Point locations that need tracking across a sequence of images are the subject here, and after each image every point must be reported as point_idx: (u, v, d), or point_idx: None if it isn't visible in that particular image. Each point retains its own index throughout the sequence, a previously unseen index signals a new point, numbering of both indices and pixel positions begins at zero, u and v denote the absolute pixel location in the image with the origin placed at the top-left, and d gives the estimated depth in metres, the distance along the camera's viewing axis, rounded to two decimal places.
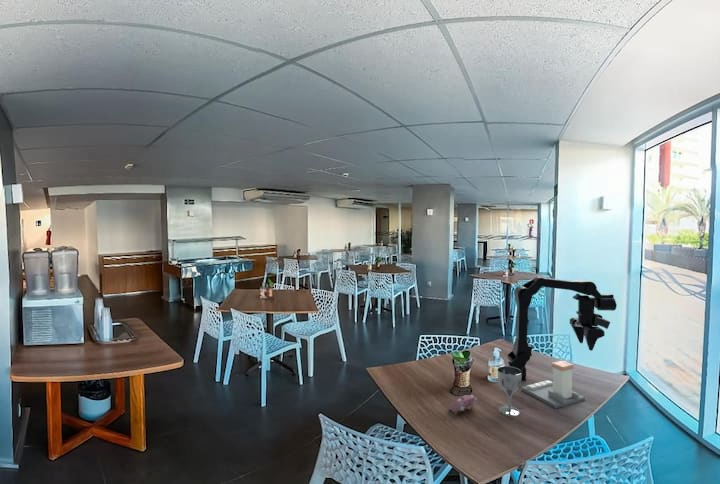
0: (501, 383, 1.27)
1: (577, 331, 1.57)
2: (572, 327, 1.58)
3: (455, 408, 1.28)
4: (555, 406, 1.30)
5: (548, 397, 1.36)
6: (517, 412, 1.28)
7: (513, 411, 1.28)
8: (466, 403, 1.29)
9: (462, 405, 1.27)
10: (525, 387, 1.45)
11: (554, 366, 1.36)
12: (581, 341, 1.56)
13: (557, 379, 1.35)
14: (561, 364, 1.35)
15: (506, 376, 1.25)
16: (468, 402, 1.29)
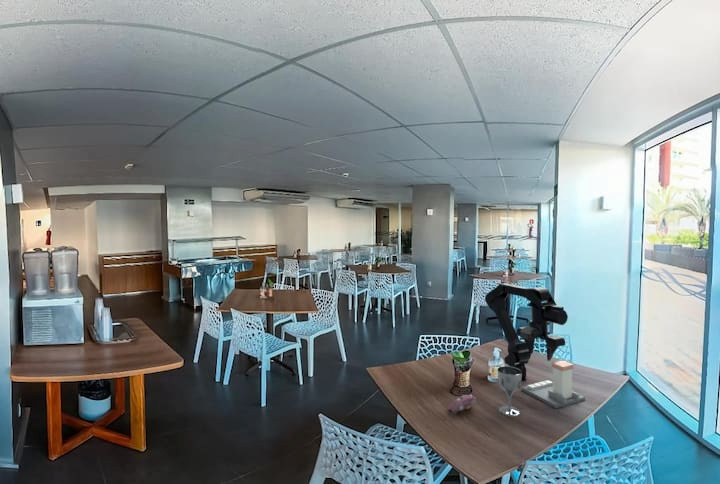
0: (501, 383, 1.27)
1: None
2: None
3: (454, 408, 1.28)
4: (555, 406, 1.30)
5: (548, 397, 1.36)
6: (517, 412, 1.28)
7: (513, 411, 1.28)
8: (465, 403, 1.29)
9: (461, 405, 1.27)
10: (525, 387, 1.45)
11: (554, 366, 1.36)
12: None
13: (557, 379, 1.35)
14: (561, 364, 1.35)
15: (506, 376, 1.25)
16: (467, 402, 1.29)
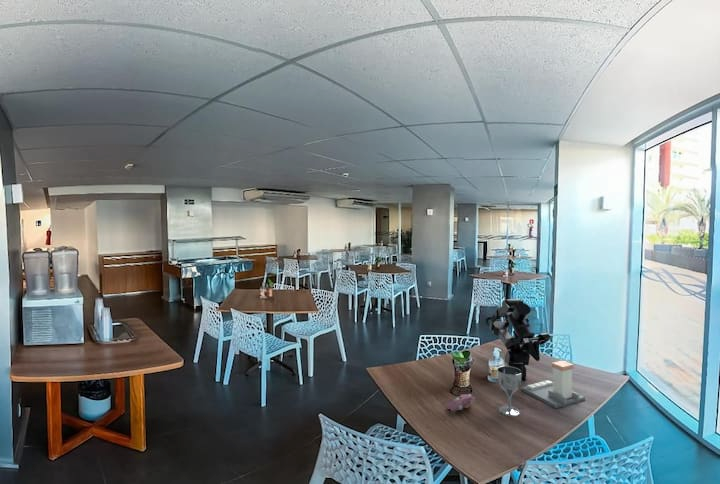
0: (501, 383, 1.27)
1: None
2: (529, 343, 1.45)
3: (453, 407, 1.28)
4: (555, 406, 1.30)
5: (548, 397, 1.36)
6: (517, 412, 1.28)
7: (513, 411, 1.28)
8: (464, 402, 1.29)
9: (460, 404, 1.28)
10: (525, 387, 1.45)
11: (554, 366, 1.36)
12: None
13: (557, 379, 1.35)
14: (561, 364, 1.35)
15: (506, 376, 1.25)
16: (466, 401, 1.30)
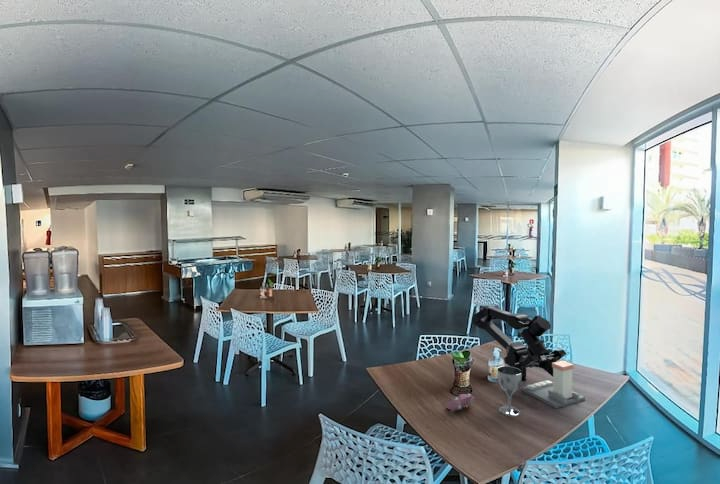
0: (501, 383, 1.27)
1: None
2: (547, 361, 1.39)
3: (452, 407, 1.29)
4: (555, 406, 1.30)
5: (548, 397, 1.36)
6: (517, 412, 1.28)
7: (513, 411, 1.28)
8: (463, 402, 1.30)
9: (459, 404, 1.28)
10: (525, 387, 1.45)
11: (554, 366, 1.36)
12: None
13: (557, 379, 1.35)
14: (561, 364, 1.35)
15: (506, 376, 1.25)
16: (465, 401, 1.30)
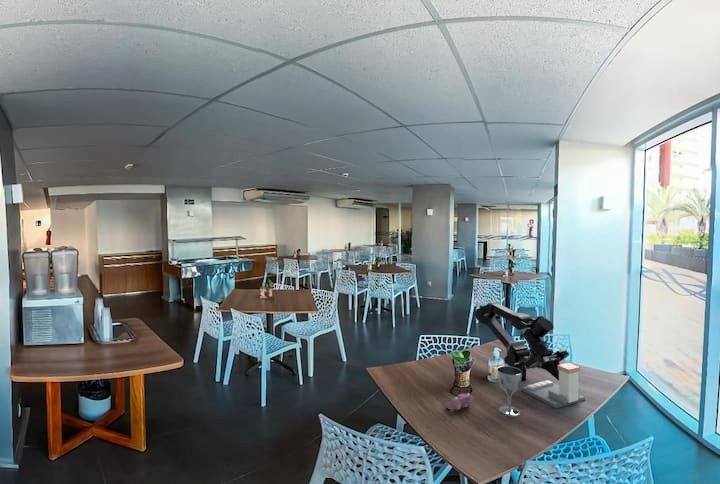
0: (501, 383, 1.27)
1: None
2: (550, 362, 1.38)
3: (452, 406, 1.29)
4: (555, 406, 1.30)
5: (548, 397, 1.36)
6: (517, 412, 1.28)
7: (513, 411, 1.28)
8: (463, 401, 1.30)
9: (459, 403, 1.28)
10: (525, 387, 1.45)
11: (560, 368, 1.33)
12: None
13: (563, 382, 1.33)
14: (567, 366, 1.32)
15: (506, 376, 1.25)
16: (464, 400, 1.30)
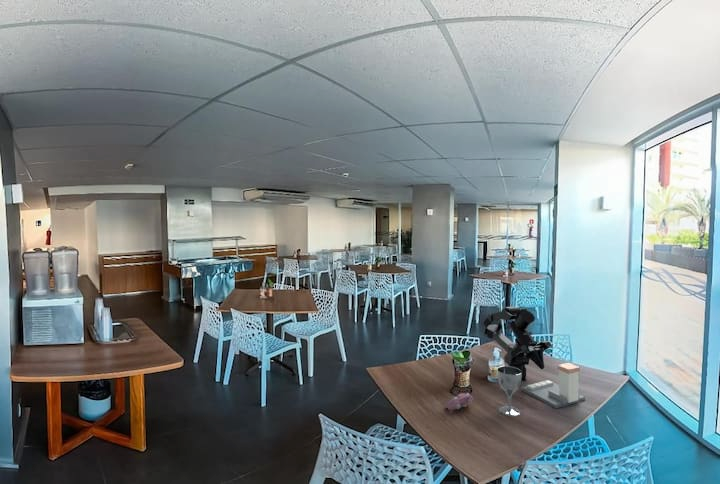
0: (501, 383, 1.27)
1: None
2: (535, 351, 1.45)
3: (451, 406, 1.29)
4: (555, 406, 1.30)
5: (548, 397, 1.36)
6: (517, 412, 1.28)
7: (513, 411, 1.28)
8: (462, 401, 1.30)
9: (458, 403, 1.28)
10: (525, 387, 1.45)
11: (560, 368, 1.33)
12: None
13: (563, 382, 1.33)
14: (567, 366, 1.32)
15: (506, 376, 1.25)
16: (464, 400, 1.31)
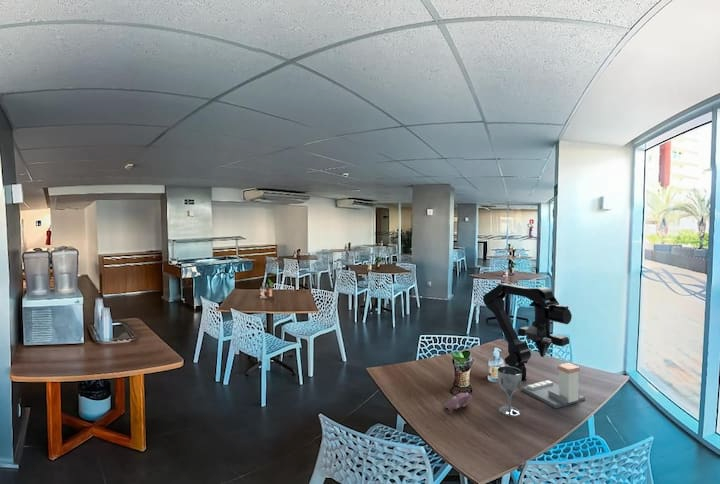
0: (501, 383, 1.27)
1: None
2: None
3: (451, 406, 1.29)
4: (555, 406, 1.30)
5: (548, 397, 1.36)
6: (517, 412, 1.28)
7: (513, 411, 1.28)
8: (461, 401, 1.31)
9: (457, 403, 1.29)
10: (525, 387, 1.45)
11: (560, 368, 1.33)
12: None
13: (563, 382, 1.33)
14: (567, 366, 1.32)
15: (506, 376, 1.25)
16: (463, 400, 1.31)
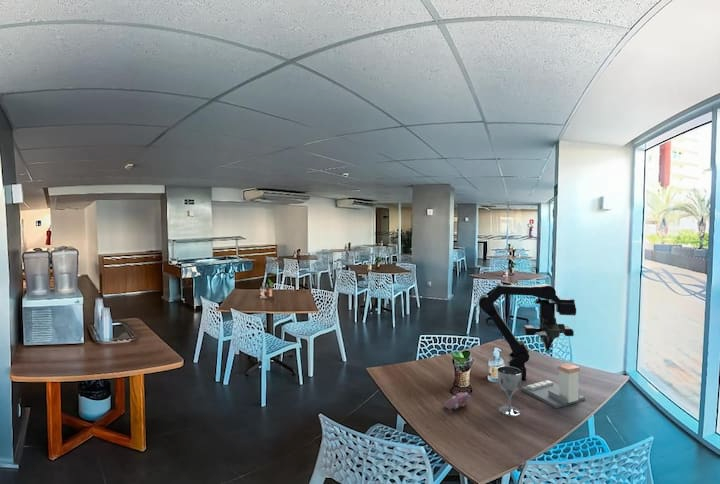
0: (501, 383, 1.27)
1: (547, 338, 1.54)
2: None
3: (450, 405, 1.30)
4: (555, 406, 1.30)
5: (548, 397, 1.36)
6: (517, 412, 1.28)
7: (513, 411, 1.28)
8: (460, 400, 1.31)
9: (456, 402, 1.29)
10: (525, 387, 1.45)
11: (560, 368, 1.33)
12: None
13: (563, 382, 1.33)
14: (567, 366, 1.32)
15: (506, 376, 1.25)
16: (462, 399, 1.31)
